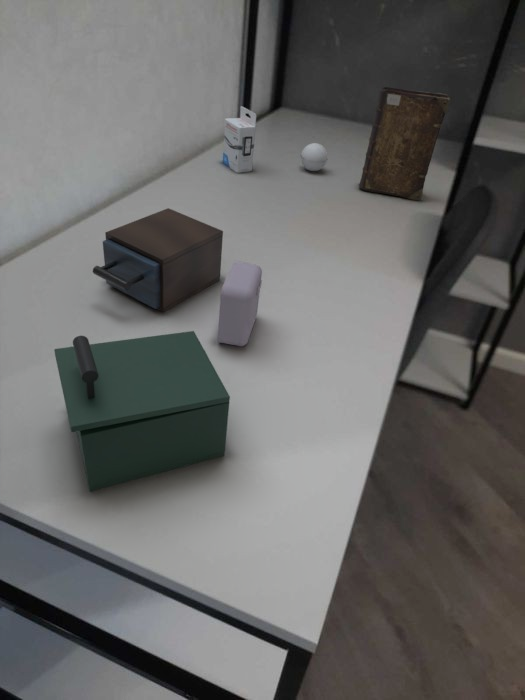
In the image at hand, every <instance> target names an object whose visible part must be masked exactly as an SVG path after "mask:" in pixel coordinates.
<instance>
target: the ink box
mask: <svg viewBox="0 0 525 700" xmlns="http://www.w3.org/2000/svg"><path fill="white" fill-rule="evenodd" d="M239 108H240V109H239V110H240V112H239V117H232V118H231V117H230V118H229V117H228V118H224V133H223V148H222V149H223V151H222V163H223V164H224V165H225V166H227V167H228V168H230V170H232V171H234V172H235V173H236V174H240V173H249V172H253V163H254V162H253V161H254V151H255V141H256V139H255V138H256V128H257V127H256V125H257V114H256V113H255V112H253V111H252V110H250V109H248V108H246V107H244V106H242V105H240V107H239ZM247 115H248V116H247ZM249 116H250V117H249Z"/></svg>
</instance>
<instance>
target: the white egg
mask: <svg viewBox="0 0 525 700" xmlns="http://www.w3.org/2000/svg"><path fill="white" fill-rule="evenodd" d="M300 160H301V164H302V165H303V167H304V168H305V169H306V170H308V171H310V172H318V171H320V170H322V169H323V168H324V167H325V165H326V164H327V161H328V153H327V149H326V148H325V146H324V145H322V144H320V143H317V142H313V143H309V144H307V145H306V146H305V147H304V148H303V149H302V151H301V154H300Z"/></svg>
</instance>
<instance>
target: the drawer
mask: <svg viewBox="0 0 525 700" xmlns="http://www.w3.org/2000/svg"><path fill="white" fill-rule="evenodd" d="M102 250H103V261H104V265H102V266H99V265H95V266H94V267H93V269H92V273H93V274H94V275H95V276H98V277H99V278H101V279H103V280H104V281H105V282H106V285H108V286H111V287H113V288H115V289H117V290H118V291H120V292H122V293H124V294H126V295H127V296H130V297H132V298H134V299H135V300H137V301H139V302H141V303H143V304H144V305H146V306H148V307H150V308H153V309H154V310H158V309H157V308H159V307H160V306H161V296H160V264H159V262H157V261H155V260H153V259H151V258H149V257H147V256H145V255H142V254H140V253H138V252H136V251H134V250H132V249H130V248H128V247H126V246H124V245H122V244H120V243H115V242H113V241H111V240H109V239H107V240H106V239H104V240H102Z"/></svg>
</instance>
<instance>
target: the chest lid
mask: <svg viewBox="0 0 525 700" xmlns="http://www.w3.org/2000/svg"><path fill="white" fill-rule="evenodd" d="M72 345H73V346H66V347H59V348H54V350H53V351H54V357H55V362H56V366H57V371H58V376H59V381H60V385H61V390H62V395H63V399H64V404H65V410H66V414H67V418H68V423H69V428H70V433H77V432H76V431H81V430H86V429H92V428H97V427H102V426H107V425H112V424H117V423H123V422H128V421H133V420H138V419H143V418H148V417H154V416H159V415H164V414H169V413H174V412H180V411H185V410H190V409H195V408H200V407H205V406H211V405H216V404H221V403H226V402H229V403H230V400H231V399H230V398H231V396H230V395H229V392H228V390H227V388H226V387H225V385H224V383H223V382H222V380H221V378H220V375H219V374H218V372H217V370H216V368H215V366H214V365H213V363H212V361H211V360H210V358H209V355H208V354H207V352H206V351H205V348H204V347H203V345H202V343H201V341H200V340H199V338H198V335H197V334H196V332H195V330H190V331H182V332H175V333H168V334H160V335H159V334H158V335H152V336H143V337H135V338H129V339H119V340H114V341H106V342H98V343H91V344H90V342H89V339H88V337H87V336H85V335H78V336H76V337H74V338H73V339H72Z"/></svg>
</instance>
